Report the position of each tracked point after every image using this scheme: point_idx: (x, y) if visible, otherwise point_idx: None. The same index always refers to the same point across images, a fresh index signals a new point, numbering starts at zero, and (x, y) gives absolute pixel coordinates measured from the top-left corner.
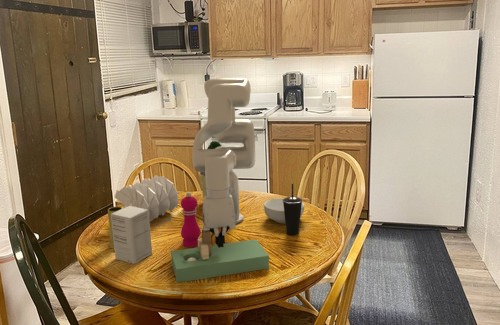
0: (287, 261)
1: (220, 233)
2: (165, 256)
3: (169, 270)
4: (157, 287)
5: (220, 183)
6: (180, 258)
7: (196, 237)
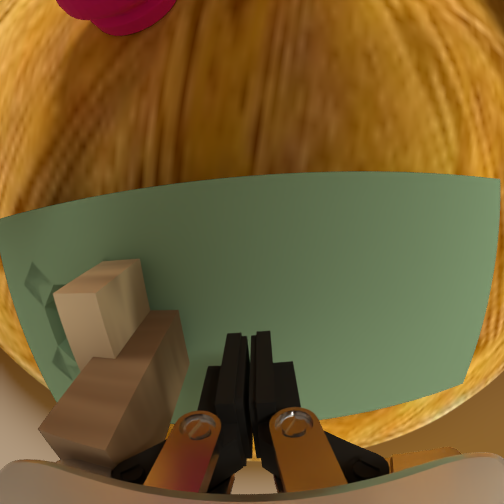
0: (499, 307)
1: (260, 449)
2: (20, 132)
3: None
4: (40, 371)
5: None
6: (39, 321)
7: (136, 2)
